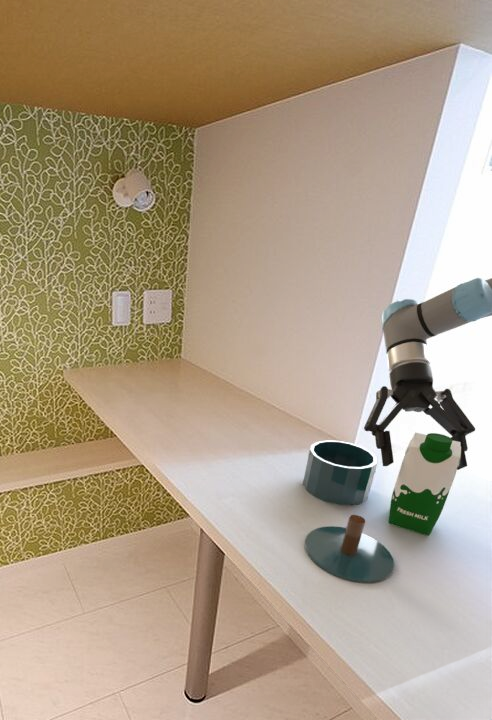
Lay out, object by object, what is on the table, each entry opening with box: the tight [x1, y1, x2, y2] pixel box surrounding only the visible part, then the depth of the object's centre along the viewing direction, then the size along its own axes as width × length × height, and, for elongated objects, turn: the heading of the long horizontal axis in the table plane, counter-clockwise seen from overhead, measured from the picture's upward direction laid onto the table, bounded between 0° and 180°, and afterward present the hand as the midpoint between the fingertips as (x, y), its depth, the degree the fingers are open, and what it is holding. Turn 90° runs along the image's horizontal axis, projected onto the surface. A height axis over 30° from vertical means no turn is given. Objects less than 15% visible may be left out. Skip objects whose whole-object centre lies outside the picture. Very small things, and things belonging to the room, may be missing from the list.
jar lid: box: [304, 514, 395, 584], centre depth 77 cm, size 15×15×8 cm
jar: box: [302, 439, 378, 506], centre depth 97 cm, size 14×14×10 cm
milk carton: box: [388, 432, 461, 537], centre depth 84 cm, size 9×9×20 cm
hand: (424, 466), depth 84 cm, fingers open, 13 cm apart
